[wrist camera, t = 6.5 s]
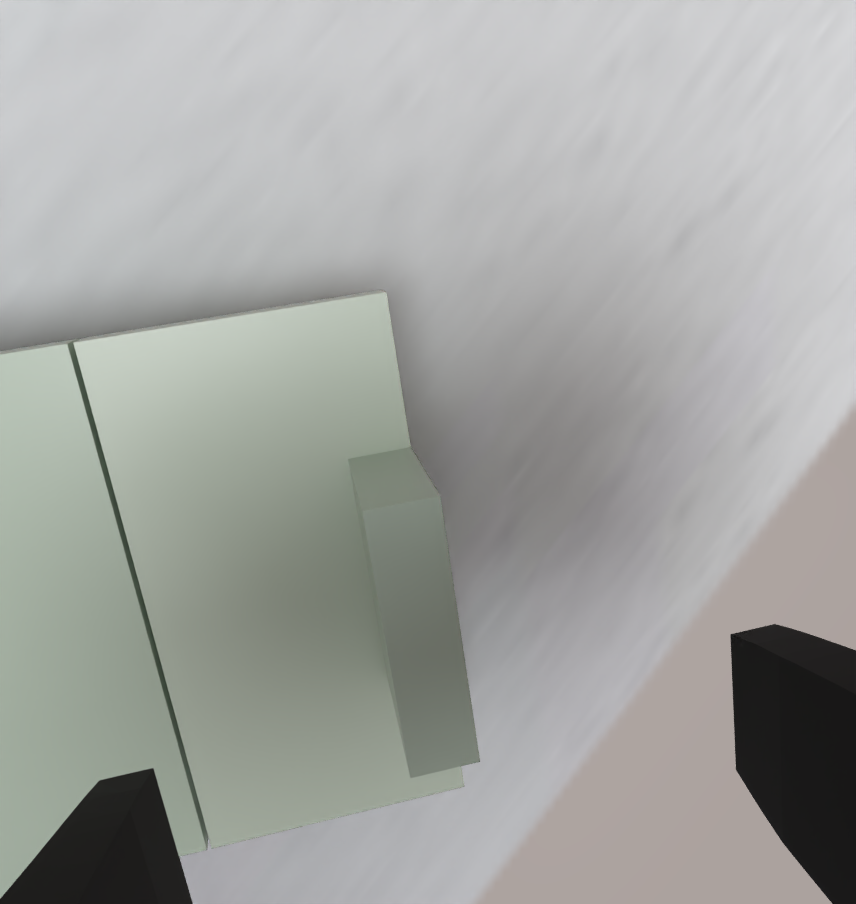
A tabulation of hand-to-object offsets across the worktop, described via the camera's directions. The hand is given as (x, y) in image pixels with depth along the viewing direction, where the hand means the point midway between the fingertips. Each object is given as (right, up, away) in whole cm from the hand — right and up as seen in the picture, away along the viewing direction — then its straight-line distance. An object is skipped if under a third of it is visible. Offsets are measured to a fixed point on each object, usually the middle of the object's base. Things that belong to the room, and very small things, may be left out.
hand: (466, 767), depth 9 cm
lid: (-9, 0, +6) cm, 10 cm away
